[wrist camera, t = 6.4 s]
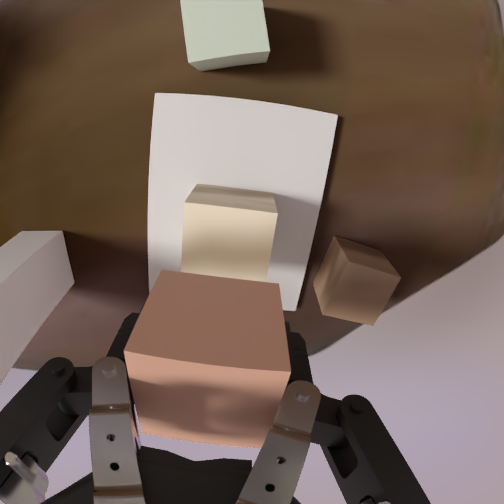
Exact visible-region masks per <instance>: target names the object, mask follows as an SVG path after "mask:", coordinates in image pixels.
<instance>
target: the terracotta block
mask: <svg viewBox="0 0 504 504" xmlns="http://www.w3.org/2000/svg"><path fill="white" fill-rule="evenodd" d="M124 355H125V360H126V366H127V371H128V376H129V380H130V385H131V390H132V394H133V398H134V403H135V407H136V411H137V415H138V418H139V422H140V426H141V430H142V433H145V434H150V435H155V436H161V437H166V438H172V439H178V440H185V441H192V442H199V443H207V444H216V445H226V446H238V447H253V448H262V446H263V443H264V441H265V439H266V436H267V434H268V432H269V429H270V427H271V425H272V423H273V421H274V418H275V416H276V413H277V411H278V408H279V406H280V403H281V400H282V397H283V394H284V392H285V389H286V386H287V383H288V380H289V377H290V374H291V367H290V359H289V352H288V344H287V337H286V329H285V322H284V315H283V308H282V301H281V294H280V287H279V283H270V282H261V281H252V280H243V279H234V278H226V277H218V276H210V275H202V274H194V273H186V272H178V271H171V270H163V269H162V270H161V272H160V274H159V276H158V278H157V280H156V282H155V284H154V286H153V288H152V290H151V292H150V294H149V296H148V298H147V301H146V303H145V305H144V307H143V309H142V311H141V313H140V316H139V318H138V320H137V322H136V324H135V326H134V329H133V331H132V333H131V335H130V338H129V340H128V342H127V344H126V347H125V349H124Z"/></svg>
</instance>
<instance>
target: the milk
mask: <svg viewBox="0 0 504 504" xmlns="http://www.w3.org/2000/svg"><path fill="white" fill-rule="evenodd" d="M74 283H75V282H74V278H73V274H72V270H71V266H70V262H69V258H68V253H67V249H66V245H65V240H64V235H63V231H22V232H20V233H19V234H17V235H16V236H15V237H13V238H12V239H11V240H9V241H8V242H7V243H5V244H4V245H3V246H1V247H0V385H1V383H2V382H3V380H4V379H5V377H6V375H7V374H8V372H9V371H10V369H11V368H12V366H13V365H14V363H15V362H16V360H17V359H18V357H19V356H20V354H21V353H22V352H23V350H24V349H25V347H26V346H27V344H28V343H29V342H30V340H31V339H32V337H33V336H34V335H35V333H36V332H37V331H38V329H39V328H40V326H41V325H42V324H43V322H44V321H45V320H46V318H47V317H48V316H49V315H50V313H51V312H52V311H53V309H54V308H55V307H56V305H57V304H58V303H59V302H60V300H61V299H62V298H63V297H64V295H65V294H66V293H67V292H68V290H69V289H70V288H71V287H72V286H73V284H74Z"/></svg>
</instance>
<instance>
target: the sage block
mask: <svg viewBox="0 0 504 504" xmlns="http://www.w3.org/2000/svg"><path fill="white" fill-rule="evenodd" d="M180 1H181V10H182V18H183V26H184V33H185V41H186V48H187V56H188V63H189V64H191V65H192V66H194V67H195V68H196V69H198V70H199V71H207V70H213V69H219V68H225V67H232V66H239V65H247V64H256V63H265V62H267V59H268V56H269V53H270V47H269V40H268V34H267V27H266V21H265V15H264V9H263V3H262V0H180Z"/></svg>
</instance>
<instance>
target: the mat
mask: <svg viewBox="0 0 504 504" xmlns="http://www.w3.org/2000/svg"><path fill="white" fill-rule="evenodd" d="M337 118H338V115H335V114H330V113H325V112H321V111H316V110H311V109H305V108H300V107H294V106H289V105H283V104H276V103H270V102H263V101H255V100H247V99H239V98H229V97H219V96H207V95H192V94H171V93H155V100H154V110H153V121H152V133H151V147H150V164H149V187H148V272H149V294H150V292H151V290H152V288H153V286H154V284H155V282H156V280H157V278H158V276H159V274H160V272H161V270H162V269H163V270H171V271H178V272H181V259H182V234H183V215H184V202H185V200H186V199H187V197H188V196H189V194H190V193H191V192H192V190H193V189H194V187H195V186H196V184H205V185H215V186H223V187H232V188H240V189H248V190H256V191H264V192H271V193H273V196H274V200H275V204H276V208H277V212H278V216H277V222H276V227H275V233H274V239H273V244H272V250H271V255H270V261H269V266H268V272H267V277H266V282H270V283H279V287H280V294H281V301H282V308H283V310H289V311H295V310H296V307H297V303H298V299H299V295H300V291H301V287H302V283H303V279H304V275H305V271H306V267H307V263H308V259H309V254H310V250H311V246H312V242H313V237H314V233H315V228H316V224H317V219H318V215H319V210H320V206H321V201H322V196H323V191H324V187H325V182H326V177H327V172H328V167H329V161H330V156H331V151H332V146H333V140H334V135H335V129H336V123H337Z"/></svg>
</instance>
